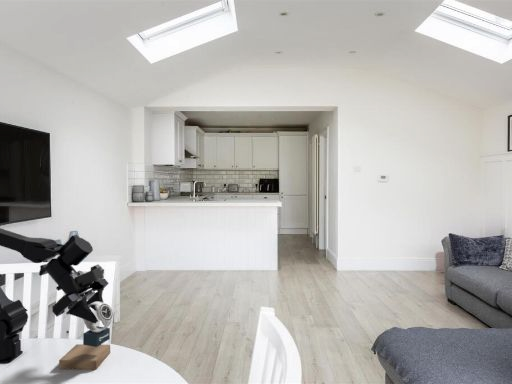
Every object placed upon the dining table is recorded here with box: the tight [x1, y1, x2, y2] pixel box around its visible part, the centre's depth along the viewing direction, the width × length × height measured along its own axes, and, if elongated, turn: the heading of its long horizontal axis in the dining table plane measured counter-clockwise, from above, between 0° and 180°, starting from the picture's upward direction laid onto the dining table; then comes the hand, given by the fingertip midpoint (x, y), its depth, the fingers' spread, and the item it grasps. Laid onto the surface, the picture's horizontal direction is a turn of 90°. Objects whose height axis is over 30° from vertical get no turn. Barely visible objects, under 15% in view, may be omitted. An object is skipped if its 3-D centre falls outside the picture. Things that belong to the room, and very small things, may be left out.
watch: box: [82, 301, 114, 347], centre depth 109 cm, size 6×8×11 cm
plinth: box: [58, 343, 111, 371], centre depth 111 cm, size 10×10×2 cm
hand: (101, 318), depth 108 cm, fingers closed on watch, 5 cm apart
